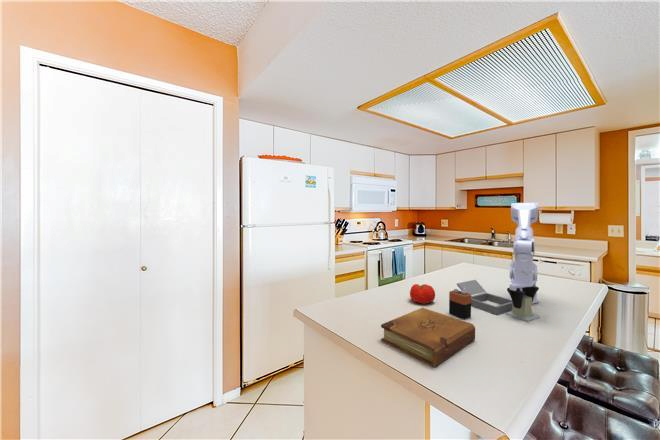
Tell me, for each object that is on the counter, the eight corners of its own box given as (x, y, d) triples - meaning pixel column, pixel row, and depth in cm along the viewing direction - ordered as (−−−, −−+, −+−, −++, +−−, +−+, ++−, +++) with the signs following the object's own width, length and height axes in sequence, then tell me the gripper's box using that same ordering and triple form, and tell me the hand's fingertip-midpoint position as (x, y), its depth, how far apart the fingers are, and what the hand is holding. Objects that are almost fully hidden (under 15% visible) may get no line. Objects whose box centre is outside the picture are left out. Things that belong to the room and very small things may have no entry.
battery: (464, 320, 98) (464, 293, 98) (448, 313, 104) (448, 288, 104) (471, 317, 100) (471, 291, 100) (455, 311, 106) (455, 287, 106)
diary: (435, 370, 69) (435, 349, 69) (381, 342, 84) (381, 324, 84) (475, 341, 83) (475, 324, 83) (422, 322, 98) (422, 306, 98)
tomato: (408, 304, 115) (408, 287, 115) (411, 296, 125) (411, 281, 125) (435, 307, 111) (435, 290, 111) (435, 299, 121) (435, 283, 121)
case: (475, 295, 125) (475, 279, 125) (517, 308, 109) (517, 289, 109) (455, 300, 119) (455, 283, 119) (496, 315, 103) (497, 295, 102)
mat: (517, 310, 107) (517, 309, 107) (539, 317, 100) (539, 316, 100) (505, 314, 103) (505, 313, 103) (528, 321, 96) (528, 320, 96)
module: (518, 311, 105) (519, 292, 105) (531, 315, 101) (531, 296, 101) (512, 313, 103) (512, 294, 103) (524, 317, 99) (525, 298, 99)
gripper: (522, 267, 108) (521, 299, 108) (501, 271, 101) (500, 305, 102) (542, 270, 102) (541, 305, 102) (521, 275, 95) (520, 312, 96)
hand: (522, 306), depth 102 cm, fingers open, 7 cm apart
